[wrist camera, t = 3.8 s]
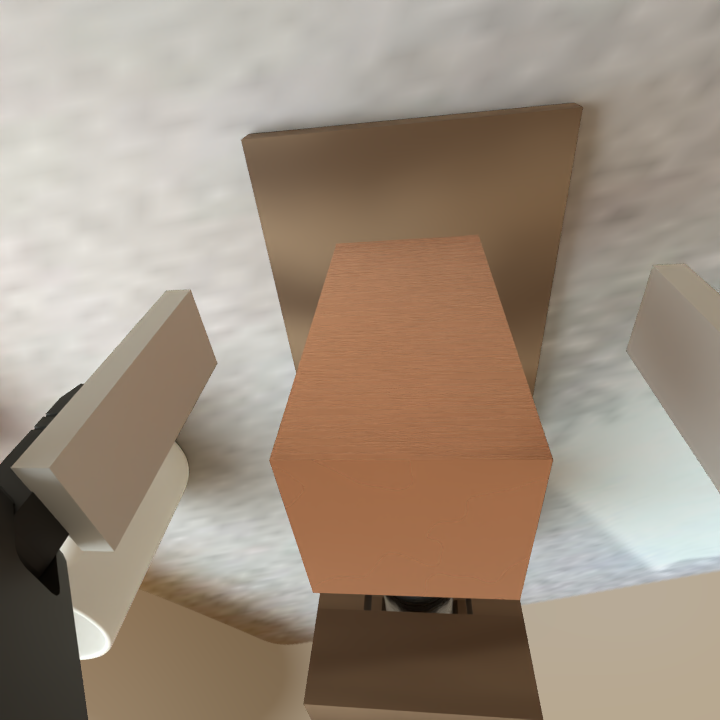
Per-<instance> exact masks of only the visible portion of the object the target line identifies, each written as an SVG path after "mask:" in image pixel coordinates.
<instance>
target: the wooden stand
mask: <svg viewBox="0 0 720 720" xmlns="http://www.w3.org/2000/svg"><path fill="white" fill-rule="evenodd" d="M582 110H583V107H582V106H580V105H578V104H576V103H566V104H556V105H545V106H535V107H525V108H514V109H504V110H494V111H483V112H473V113H463V114H452V115H442V116H432V117H421V118H411V119H401V120H390V121H380V122H370V123H359V124H349V125H339V126H328V127H318V128H308V129H297V130H287V131H277V132H266V133H256V134H248V135H247V136H246V137H244V138H243V139H242V140H241V141H242V145H243V150H244V154H245V158H246V162H247V167H248V171H249V175H250V179H251V184H252V188H253V192H254V196H255V200H256V205H257V209H258V213H259V217H260V222H261V226H262V230H263V234H264V239H265V243H266V247H267V251H268V255H269V260H270V264H271V268H272V272H273V277H274V281H275V285H276V289H277V294H278V298H279V302H280V306H281V311H282V315H283V319H284V323H285V327H286V332H287V336H288V340H289V344H290V349H291V353H292V357H293V361H294V366H295V370H296V373H297V369H298V366H299V363H300V360H301V356H302V353H303V350H304V347H305V344H306V340H307V337H308V334H309V331H310V327H311V324H312V321H313V318H314V314H315V311H316V308H317V305H318V301H319V298H320V295H321V292H322V289H323V285H324V282H325V279H326V276H327V272H328V269H329V266H330V263H331V259H332V256H333V253H334V250H335V247H336V244H340V243H356V242H372V241H387V240H403V239H419V238H435V237H451V236H466V235H479V238H480V241H481V244H482V247H483V250H484V253H485V256H486V259H487V262H488V265H489V268H490V271H491V274H492V277H493V280H494V283H495V286H496V289H497V292H498V295H499V298H500V301H501V304H502V307H503V310H504V313H505V316H506V319H507V322H508V325H509V328H510V331H511V334H512V337H513V340H514V343H515V347H516V350H517V353H518V356H519V359H520V362H521V365H522V368H523V371H524V374H525V377H526V380H527V383H528V386H529V389H530V392H531V395H532V398H533V392H534V386H535V380H536V375H537V369H538V363H539V357H540V352H541V346H542V340H543V334H544V329H545V323H546V317H547V311H548V306H549V300H550V294H551V288H552V282H553V277H554V271H555V265H556V259H557V254H558V248H559V242H560V236H561V231H562V225H563V219H564V213H565V208H566V202H567V196H568V190H569V185H570V179H571V173H572V167H573V161H574V156H575V150H576V144H577V138H578V133H579V127H580V121H581V115H582ZM304 706H305V708H306V710H307V712H308V714H309V716H310V718H311V720H543V716H542V711H541V706H540V701H539V696H538V690H537V685H536V680H535V675H534V670H533V665H532V660H531V654H530V649H529V644H528V639H527V634H526V629H525V624H524V619H523V614H522V608H521V603H520V600H505V599H477V598H453V607H452V614H446V613H421V612H396V611H386V606H385V599H384V595H364V594H336V593H320V597H319V604H318V611H317V617H316V624H315V631H314V637H313V644H312V651H311V658H310V664H309V671H308V678H307V684H306V691H305V698H304Z"/></svg>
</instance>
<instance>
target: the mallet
mask: <svg viewBox="0 0 720 720" xmlns="http://www.w3.org/2000/svg"><path fill="white" fill-rule="evenodd" d="M269 461H270V464H271V467H272V470H273V473H274V476H275V479H276V482H277V485H278V488H279V491H280V494H281V497H282V500H283V503H284V506H285V509H286V512H287V515H288V518H289V521H290V524H291V527H292V530H293V533H294V536H295V539H296V542H297V545H298V548H299V551H300V554H301V557H302V560H303V563H304V566H305V569H306V572H307V576H308V579H309V582H310V585H311V588H312V591H313V593H336V594H364V595H384V599H385V606H386V611H396V612H421V613H446V614H452V607H453V598H477V599H505V600H520V598H521V593H522V589H523V585H524V581H525V576H526V572H527V568H528V564H529V559H530V555H531V551H532V547H533V543H534V538H535V534H536V530H537V526H538V521H539V517H540V513H541V509H542V504H543V500H544V496H545V492H546V487H547V483H548V479H549V475H550V471H551V466H552V462H553V458H552V455H551V452H550V449H549V446H548V443H547V440H546V437H545V434H544V431H543V428H542V425H541V422H540V419H539V416H538V413H537V410H536V407H535V404H534V401H533V398H532V395H531V392H530V389H529V386H528V383H527V380H526V377H525V374H524V371H523V368H522V365H521V362H520V359H519V356H518V353H517V350H516V347H515V343H514V340H513V337H512V334H511V331H510V328H509V325H508V322H507V319H506V316H505V313H504V310H503V307H502V304H501V301H500V298H499V295H498V292H497V289H496V286H495V283H494V280H493V277H492V274H491V271H490V268H489V265H488V262H487V259H486V256H485V253H484V250H483V247H482V244H481V241H480V238H479V235H466V236H451V237H435V238H419V239H403V240H387V241H372V242H356V243H340V244H336V247H335V250H334V253H333V256H332V259H331V263H330V266H329V269H328V272H327V276H326V279H325V282H324V285H323V289H322V292H321V295H320V298H319V301H318V305H317V308H316V311H315V314H314V318H313V321H312V324H311V327H310V331H309V334H308V337H307V340H306V344H305V347H304V350H303V353H302V356H301V360H300V363H299V366H298V369H297V373H296V376H295V379H294V382H293V386H292V389H291V392H290V395H289V398H288V402H287V405H286V408H285V411H284V415H283V418H282V421H281V424H280V428H279V431H278V434H277V437H276V440H275V444H274V447H273V450H272V453H271V457H270V460H269Z"/></svg>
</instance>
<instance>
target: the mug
mask: <svg viewBox="0 0 720 720" xmlns="http://www.w3.org/2000/svg"><path fill="white" fill-rule="evenodd" d="M188 477H189V466H188V461H187V459H186V456H185V454H184V453H183V451H182V449H181V448H180V447H179V446H178V444H177V443H176V442H174V444H173V446H172V447H171V449H170V451H169V453H168V455H167V457H166V458H165V460H164V462H163V464H162V466H161V468H160V469H159V471H158V473H157V475H156V477H155V478H154V480H153V482H152V484H151V486H150V488H149V489H148V491H147V493H146V495H145V497H144V499H143V500H142V502H141V504H140V506H139V508H138V510H137V511H136V513H135V515H134V517H133V519H132V521H131V522H130V524H129V526H128V528H127V530H126V532H125V533H124V535H123V537H122V539H121V541H120V543H119V544H118V546H117V548H116V550H115V552H109V551H82V550H81V549H80V548H79V547H78V546H77V544H76V543H75V542H74V541H73V540H72V539H71V537H70V536H68V537H67V539H66V540H65V542H64V543H63V545H62V546H61V548H60V549H59V550H60V551H61V552H62V553H63V555H64V557H65V559H66V561H67V569H68V576H69V583H70V591H71V598H72V605H73V613H74V620H75V627H76V635H77V642H78V649H79V657H80V660H83V659H91V658H96V657H99V656H102V655H103V654H105V653H106V652H107V651H108V650H109V649H110V648H111V646H112V644H113V642H114V640H115V638H116V636H117V634H118V631H119V629H120V627H121V625H122V623H123V621H124V618H125V617H126V614H127V612H128V610H129V608H130V606H131V604H132V602H133V599H134V597H135V595H136V593H137V591H138V589H139V587H140V585H141V582H142V580H143V578H144V576H145V574H146V572H147V570H148V568H149V565H150V563H151V561H152V559H153V557H154V555H155V553H156V551H157V548H158V546H159V544H160V542H161V540H162V538H163V536H164V534H165V531H166V529H167V527H168V525H169V523H170V521H171V519H172V517H173V514H174V512H175V510H176V508H177V506H178V504H179V502H180V499H181V497H182V495H183V493H184V491H185V488H186V486H187V482H188Z"/></svg>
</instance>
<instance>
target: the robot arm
mask: <svg viewBox="0 0 720 720" xmlns="http://www.w3.org/2000/svg"><path fill="white" fill-rule="evenodd" d="M626 352H627V353H628V355H629V356H630V358H631V359H632V361H633V362H634V364H635V365H636V367H637V368H638V370H639V371H640V373H641V374H642V376H643V377H644V379H645V380H646V382H647V383H648V385H649V387H650V388H651V390H652V391H653V393H654V394H655V396H656V397H657V399H658V400H659V402H660V403H661V405H662V406H663V408H664V409H665V411H666V412H667V414H668V415H669V417H670V418H671V420H672V421H673V423H674V425H675V426H676V428H677V429H678V431H679V432H680V434H681V435H682V437H683V438H684V440H685V441H686V443H687V444H688V446H689V447H690V449H691V450H692V452H693V453H694V455H695V456H696V458H697V459H698V461H699V462H700V464H701V466H702V467H703V469H704V470H705V472H706V473H707V475H708V476H709V478H710V479H711V481H712V482H713V484H714V485H715V487H716V488H717V490H718V491H719V493H720V294H719V293H718V292H716V291H715V290H714V289H713V288H712V287H711V286H710V285H709V284H707V283H706V282H705V281H704V280H703V279H702V278H701V277H699V276H698V275H697V274H696V273H695V272H694V271H693V270H692V269H690V268H689V267H688V266H687V265H686V264H666V265H653V267H652V270H651V273H650V276H649V279H648V282H647V286H646V289H645V292H644V295H643V298H642V302H641V305H640V308H639V311H638V314H637V318H636V321H635V324H634V327H633V330H632V333H631V337H630V340H629V343H628V346H627V349H626ZM216 365H217V361H216V358H215V355H214V353H213V350H212V347H211V344H210V342H209V339H208V336H207V333H206V331H205V328H204V325H203V323H202V320H201V317H200V314H199V312H198V309H197V306H196V303H195V301H194V298H193V295H192V292H191V290H171V291H166V292H165V293H164V294H163V295H162V296H161V297H160V298H159V299H158V301H157V302H156V303H155V304H154V305H153V306H152V307H151V309H150V310H149V311H148V312H147V313H146V314H145V315H144V317H143V318H142V319H141V320H140V321H139V322H138V323H137V325H136V326H135V327H134V328H133V329H132V330H131V331H130V332H129V334H128V335H127V336H126V337H125V338H124V339H123V340H122V342H121V343H120V344H119V345H118V346H117V347H116V348H115V350H114V351H113V352H112V353H111V354H110V355H109V356H108V358H107V359H106V360H105V361H104V362H103V363H102V364H101V365H100V367H99V368H98V369H97V370H96V371H95V372H94V373H93V375H92V376H91V377H90V378H89V379H88V380H87V381H86V383H85V384H80V385H78V386H77V387H75V388H74V389H72V390H71V391H70V392H68V393H67V394H65V395H64V396H62V397H61V398H60V399H59V400H58V401H57V402H56V403H55V404H54V406H53V407H52V408H51V409H50V410H49V411H48V412H47V413H46V417H43V418H42V419H41V420H40V421H39V422H38V423H37V424H36V425H35V426H34V427H35V429H34V430H31V431H30V432H29V433H28V434H27V435H26V436H25V437H24V439H23V440H22V441H21V442H20V443H19V444H18V445H17V446H16V447H15V448H14V449H13V451H12V452H11V453H10V454H9V455H8V456H7V457H6V458H5V459H4V460H3V462H2V463H1V464H0V720H88V715H87V709H86V701H85V693H84V686H83V679H82V671H81V664H80V657H79V649H78V642H77V635H76V627H75V620H74V613H73V605H72V598H71V591H70V583H69V576H68V569H67V561H66V559H65V557H64V555H63V553H62V552H61V551H60V550H59V549H60V548H61V546H62V545H63V543H64V542H65V540H66V539H67V537H68V536H70V537H71V539H72V540H73V541H74V542H75V543H76V544H77V546H78V547H79V548H80V549H81V550H82V551H109V552H115V550H116V548H117V546H118V544H119V543H120V541H121V539H122V537H123V535H124V533H125V532H126V530H127V528H128V526H129V524H130V522H131V521H132V519H133V517H134V515H135V513H136V511H137V510H138V508H139V506H140V504H141V502H142V500H143V499H144V497H145V495H146V493H147V491H148V489H149V488H150V486H151V484H152V482H153V480H154V478H155V477H156V475H157V473H158V471H159V469H160V468H161V466H162V464H163V462H164V460H165V458H166V457H167V455H168V453H169V451H170V449H171V447H172V446H173V444H174V442H175V440H176V438H177V436H178V435H179V433H180V431H181V429H182V427H183V425H184V424H185V422H186V420H187V418H188V416H189V414H190V413H191V411H192V409H193V407H194V405H195V403H196V402H197V400H198V398H199V396H200V394H201V392H202V391H203V389H204V387H205V385H206V383H207V381H208V380H209V378H210V376H211V374H212V372H213V371H214V369H215V367H216Z"/></svg>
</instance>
